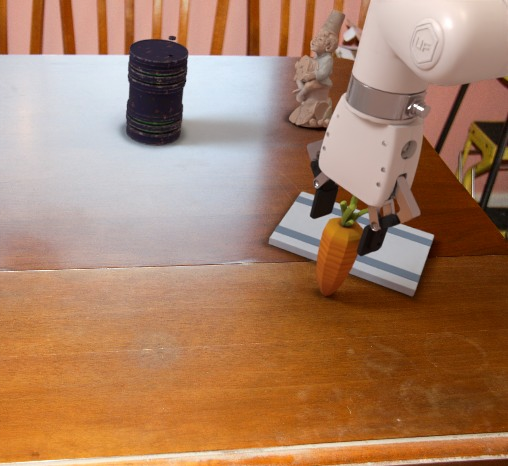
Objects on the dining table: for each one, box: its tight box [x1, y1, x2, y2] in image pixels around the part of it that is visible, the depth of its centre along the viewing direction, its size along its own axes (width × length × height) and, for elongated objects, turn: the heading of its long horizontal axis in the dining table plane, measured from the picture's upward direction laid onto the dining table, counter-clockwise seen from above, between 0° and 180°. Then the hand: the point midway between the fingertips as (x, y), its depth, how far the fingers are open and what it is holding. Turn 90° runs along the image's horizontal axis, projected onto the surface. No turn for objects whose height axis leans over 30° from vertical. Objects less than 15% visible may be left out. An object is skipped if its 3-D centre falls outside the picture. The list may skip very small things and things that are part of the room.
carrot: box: [315, 194, 369, 297], centre depth 79 cm, size 5×5×15 cm
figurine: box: [288, 9, 346, 129], centre depth 116 cm, size 9×8×20 cm
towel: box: [268, 191, 435, 297], centre depth 92 cm, size 20×14×1 cm
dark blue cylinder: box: [125, 35, 189, 146], centre depth 110 cm, size 10×10×18 cm
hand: (343, 232), depth 77 cm, fingers open, 7 cm apart
